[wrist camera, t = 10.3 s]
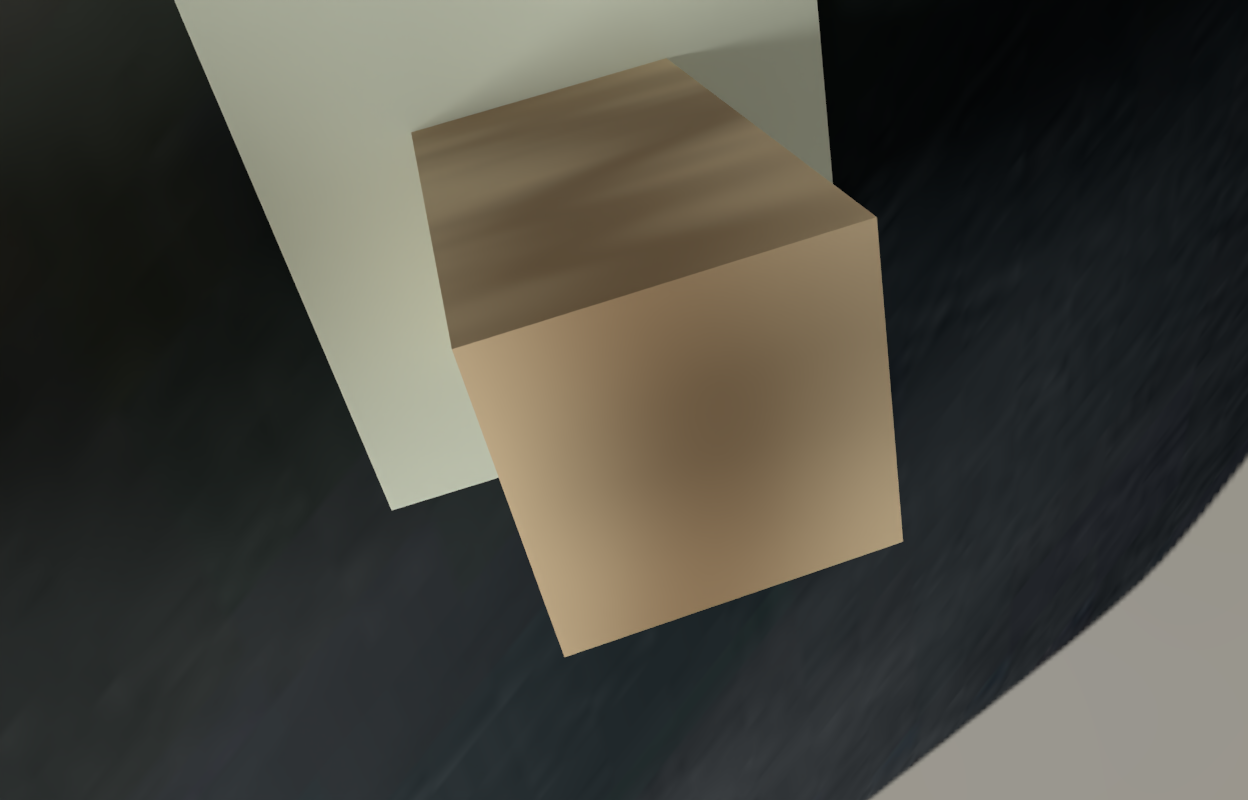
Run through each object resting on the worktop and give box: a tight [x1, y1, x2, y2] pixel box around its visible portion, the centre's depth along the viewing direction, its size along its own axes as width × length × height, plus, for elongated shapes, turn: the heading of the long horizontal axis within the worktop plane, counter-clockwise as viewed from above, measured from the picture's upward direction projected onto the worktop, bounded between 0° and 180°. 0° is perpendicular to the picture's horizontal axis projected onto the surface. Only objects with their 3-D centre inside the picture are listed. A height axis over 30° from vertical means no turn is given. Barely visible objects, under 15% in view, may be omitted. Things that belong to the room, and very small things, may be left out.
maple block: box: [411, 58, 903, 657], centre depth 14 cm, size 4×4×8 cm
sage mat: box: [174, 0, 833, 510], centre depth 18 cm, size 10×10×1 cm
